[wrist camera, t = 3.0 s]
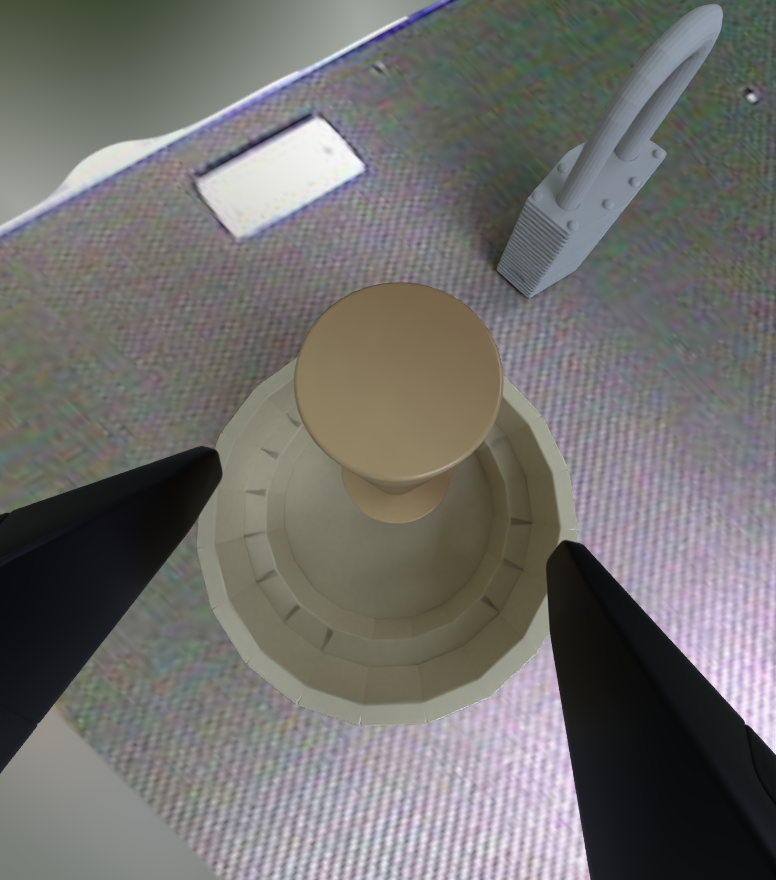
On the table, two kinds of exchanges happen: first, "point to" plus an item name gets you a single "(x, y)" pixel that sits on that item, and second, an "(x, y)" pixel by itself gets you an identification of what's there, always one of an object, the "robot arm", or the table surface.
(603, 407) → the table surface
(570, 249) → the padlock
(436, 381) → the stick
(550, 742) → the table surface
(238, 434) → the bowl
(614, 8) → the table surface
